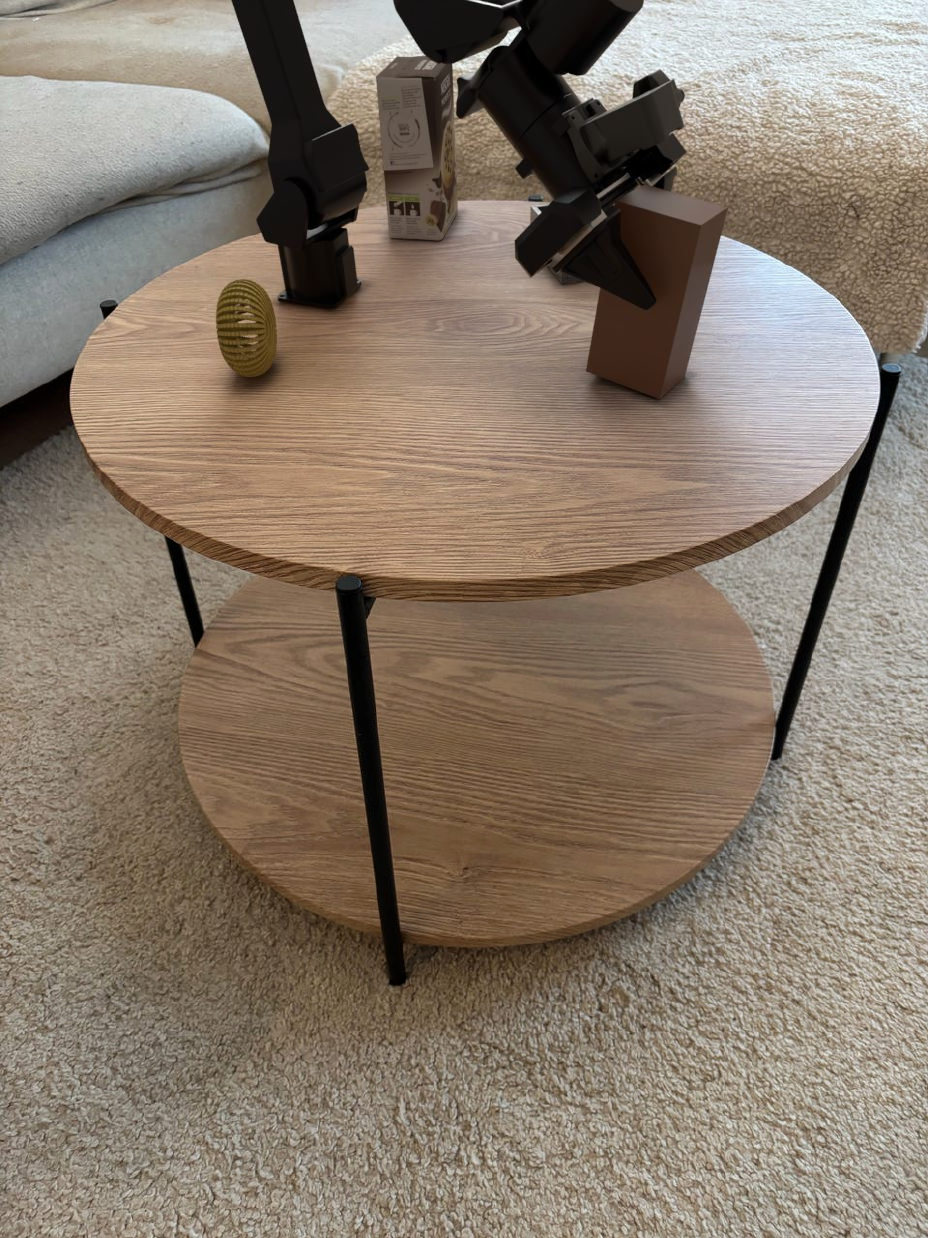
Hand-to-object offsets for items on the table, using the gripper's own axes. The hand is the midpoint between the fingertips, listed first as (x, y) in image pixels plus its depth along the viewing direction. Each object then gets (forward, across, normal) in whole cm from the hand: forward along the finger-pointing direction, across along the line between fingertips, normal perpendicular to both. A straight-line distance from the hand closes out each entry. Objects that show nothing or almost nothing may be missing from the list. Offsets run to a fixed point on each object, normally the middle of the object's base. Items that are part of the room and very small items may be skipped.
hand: (669, 289), depth 71 cm
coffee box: (-22, +20, +32) cm, 44 cm away
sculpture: (-18, -15, +28) cm, 36 cm away
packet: (+4, 0, +7) cm, 8 cm away
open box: (-7, +22, +17) cm, 28 cm away
